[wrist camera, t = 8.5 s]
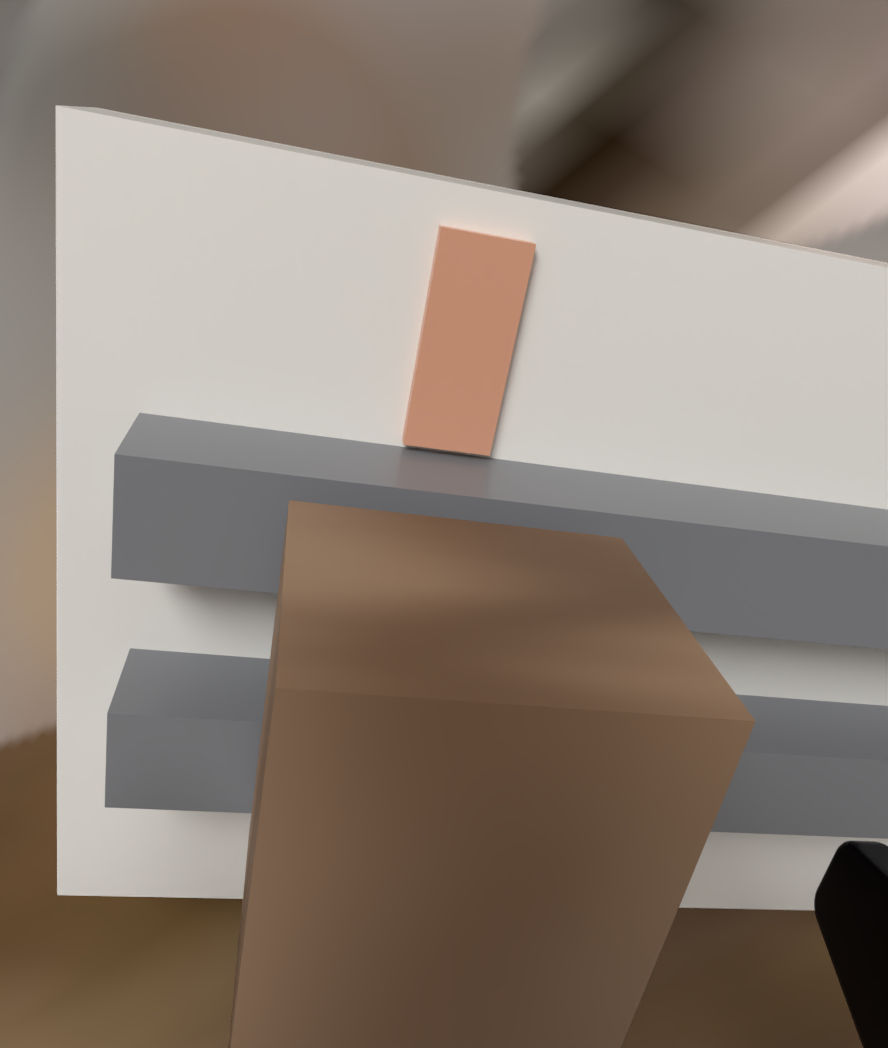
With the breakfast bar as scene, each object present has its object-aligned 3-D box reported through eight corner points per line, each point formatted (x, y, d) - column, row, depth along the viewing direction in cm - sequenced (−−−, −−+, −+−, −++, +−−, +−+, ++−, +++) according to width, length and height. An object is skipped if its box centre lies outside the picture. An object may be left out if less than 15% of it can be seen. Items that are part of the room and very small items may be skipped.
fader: (582, 483, 12) (755, 720, 7) (506, 764, 14) (602, 1092, 9) (292, 447, 11) (274, 687, 6) (257, 750, 13) (224, 1102, 8)
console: (1450, 372, 16) (1730, 435, 13) (1125, 848, 21) (1269, 979, 18) (98, 108, 11) (12, 103, 8) (86, 807, 16) (29, 977, 13)
